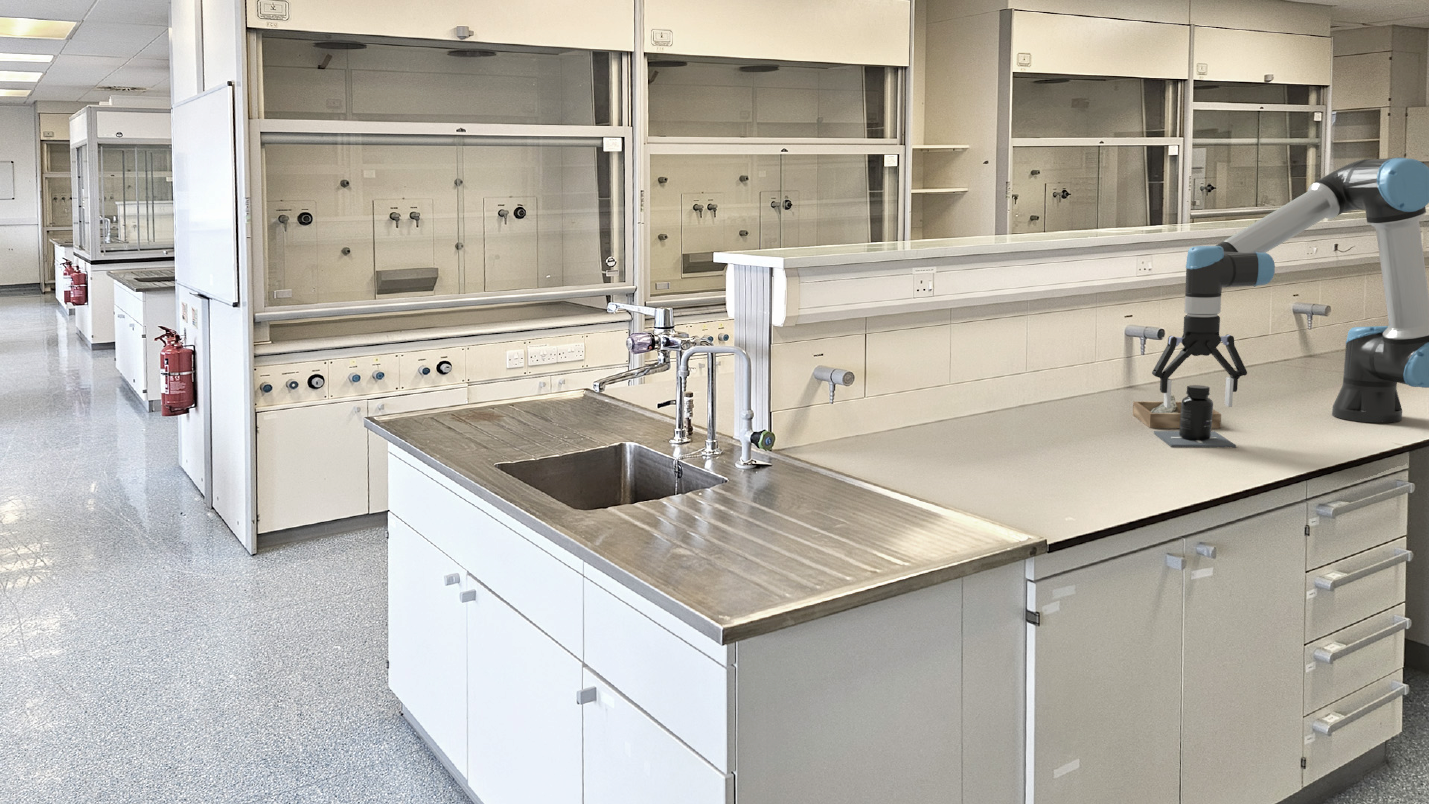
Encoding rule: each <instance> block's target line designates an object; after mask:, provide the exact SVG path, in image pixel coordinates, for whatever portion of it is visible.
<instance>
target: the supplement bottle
mask: <svg viewBox="0 0 1429 804" xmlns="http://www.w3.org/2000/svg"><path fill="white" fill-rule="evenodd" d="M1210 391H1211V390H1210V386H1207V385H1201V384H1200V385H1199V384H1197V385H1196V384H1190V385H1187V386H1186V392H1185V394H1186V396H1185V397H1183V398H1182V400H1181V401H1180V402H1181V413H1180V427H1179V428H1178V429H1179V430H1178V431H1179V435H1180V437H1182V438H1185V439H1191V440H1207V439H1209V438H1210V437H1211V431H1212V429H1213V428H1212V414H1213V410H1214V402H1213V400H1212V398H1209V396H1210V395H1211V392H1210Z"/></svg>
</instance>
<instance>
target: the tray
mask: <svg viewBox="0 0 1429 804" xmlns="http://www.w3.org/2000/svg"><path fill="white" fill-rule="evenodd" d="M1162 403H1164V401H1133V403H1132V416H1133V417H1135V418H1136V419H1137V420H1139V421H1140V423H1142V424H1144V425H1145V426H1147V427H1148V428H1149V429H1179V427H1180V413H1181V401H1176V404H1177V407H1178V412H1179V413H1152V412H1150V411H1151V410H1152V409H1153V408H1156V407H1158V406H1160V405H1161V404H1162ZM1221 421H1222V414H1221V413H1220V412H1219V411H1216V409H1213V414H1212V428H1211V429H1221V427H1222V426H1221V423H1222V422H1221Z"/></svg>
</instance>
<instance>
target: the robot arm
mask: <svg viewBox="0 0 1429 804" xmlns="http://www.w3.org/2000/svg"><path fill="white" fill-rule="evenodd" d="M1428 204H1429V167H1428V166H1427V165H1426V164H1425V163H1424V162H1422V161H1420V160H1418V159H1414V158H1406V157H1388V158H1375V159H1373V158H1372V159H1370V158H1369V159H1360V160H1356V161H1353V162H1350V163H1348V164H1346V165H1344V166H1342V167H1340V168H1337V169H1336V170H1334V171H1332V172H1331V173H1328V174H1326V175H1324V176H1323V177H1322V178H1320V179H1318V180H1317V181H1315V182H1313V183H1311V184H1310V185H1309V187H1308V188H1307V191H1306V192H1304V193H1303V194H1302V195H1299V196H1297V197H1296V198H1295V199H1292V200H1291V201H1289V202H1287V203H1285V204H1284V205H1282V206H1281V207H1279V208H1277V209H1276V210H1274V211H1272V212H1271V213H1269V214H1267V215H1266V216H1264V217H1262V218H1260V219H1258V220H1257V221H1255V222H1253V223H1252V224H1250V225H1248V226H1247V227H1245V228H1244V229H1242V230H1240V231H1238V232H1237V233H1235V234H1233V235H1232V236H1230V237H1227V238H1226V239H1224V240H1222V241H1221V242H1220V243H1218V244H1216V245H1196V246H1192V247H1190V248H1189V249H1188V251H1187V256H1186V264H1185V293H1184V294H1185V297H1184V310H1183V311H1184V313H1185V314H1186V315H1184V316H1183V329H1182V330H1183V334H1182V336H1180V337H1179V336H1173V335H1169V336H1168V339H1167V345H1166V347H1165V348H1164V350H1163V352H1162V354H1161V356H1160V357H1159V359H1158V360H1157V361H1156V362H1157V363H1156V364H1155V366H1154V368H1153V369H1152V371H1151V374H1152V376H1154V377H1156V378H1159V381H1160V382H1159V391H1160V393H1162V394H1163V402H1164V406H1165V407H1166V408H1170V405H1171V395H1172V379H1170V377H1171V376H1172V375H1173V374H1174V373H1175V371H1176V370H1178V368H1180V366H1181V365H1182V364H1183V363H1184V362H1185V360H1187V359H1188V358H1190V356H1191V355H1192V356H1194V357H1198V356H1205V357H1206V356H1209V355H1211V356H1212V357H1214V359H1215V361H1217V362H1218V363H1219V365H1220V366H1221V367H1222V368H1223V369H1224V371H1225V372H1226V373H1227V374H1228V375H1229V376H1226V377H1225V390H1224V391H1225V393H1224V405H1225V406H1226V407H1228V408H1232V407H1233V399H1234V397H1233V395H1234V393H1235V392H1237V391H1238V386H1239V385H1238V382H1239V379H1240V378H1241V377H1243V376H1247V374H1248V371H1247V369H1246V366H1245V364H1244V363H1243V360H1242V358H1241V356H1240V354H1239V352H1238V350H1237V348H1236V346H1235V337H1234V336H1233V335H1231V334H1229V333H1228V334H1225V335H1223V336H1221V335H1220V328H1221V327H1220V326H1221V317H1220V316H1219V314H1220V313H1221V312H1222V310H1221V305H1222V304H1221V303H1222V290H1223V288H1231V287H1232V288H1235V287H1237V288H1239V287H1253V288H1255V287H1257V286H1265V285H1268V284H1269V283H1270V282H1271V281H1272V280H1273V278H1274V276H1275V268H1276V265H1275V261H1274V258H1273V257H1272V256H1271V254H1269V251H1271V250H1273V249H1275V248H1277V247H1279V246H1280V245H1281V244H1284V243H1285V242H1286V241H1288V240H1290V239H1292V238H1293V237H1295V236H1297V235H1299V234H1300V233H1302V232H1304V231H1305V230H1308V229H1309V228H1311V227H1313V226H1314V225H1316V224H1318V223H1319V222H1321V221H1322V220H1325V219H1329V220H1331V219H1335V218H1336V217H1338V216H1339V215H1341V214H1344V213H1348V212H1353V211H1358V210H1362V211H1365V218H1366V224H1368V225H1369V226H1372V227H1373V228H1374V229H1375V232H1376V233H1375V234H1376V239H1377V247H1378V256H1379V261H1380V269H1381V270H1380V271H1381V277H1382V283H1383V284H1382V286H1383V292H1384V298H1385V299H1384V300H1385V306H1386V313H1387V321H1388V325H1378V326H1377V325H1375V326H1354V327H1352V328H1350V329H1349V330H1348V332H1347V338H1346V341H1345V349H1344V350H1345V351H1344V353H1345V354H1344V365H1343V377H1342V384H1341V385H1342V386H1341V387H1340V389H1339V392H1338V394H1337V396H1336V398H1335V401H1334V402H1333V404H1332V411H1331V414H1332V416H1334V417H1335V418H1338V419H1342V420H1346V421H1347V420H1348V421H1352V422H1353V421H1354V422H1361V423H1375V424H1376V423H1378V424H1380V423H1381V424H1382V423H1383V424H1384V423H1385V424H1386V423H1396V422H1400V421H1402V419H1403V408H1402V404H1401V401H1400V396H1399V394H1398V389H1397V387H1398V385H1397V384H1398V383H1399V384H1402V385H1406V386H1407V385H1408V386H1410V387H1411V388H1412V387H1413V388H1424V389H1428V388H1429V289H1428V288H1429V287H1428V279H1427V273H1426V264H1425V257H1424V256H1425V255H1424V248H1423V241H1422V240H1423V239H1422V233H1421V225H1420V220H1421V219H1422V218H1423V217H1424V216H1425V215H1426V213H1427V208H1426V206H1427V205H1428ZM1180 343H1181V344H1182V346H1183V348H1181V350H1180V351H1179V353H1178V354H1177V355H1176V356H1175V358H1173V359H1172V360H1171V362H1170V363H1169V364H1168V362H1169V361H1170V358H1171V357H1172V356H1173V354H1174V352H1175V349H1176V347H1178V346H1179V345H1180ZM1220 343H1222V345H1224V346H1225V347H1226V350H1227V353H1228V354H1229V357H1230V358H1231V360H1232V363H1233V365H1234V367H1235V368H1236V369H1235V368H1234V367H1233V366H1232V365H1231V364H1230V363H1229V362H1228V361H1227V359H1226V358H1225V357H1224V355H1223V354H1222V353H1221V351H1219V349H1218V348H1217V347H1219V345H1220Z"/></svg>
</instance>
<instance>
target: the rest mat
mask: <svg viewBox="0 0 1429 804" xmlns="http://www.w3.org/2000/svg"><path fill="white" fill-rule="evenodd" d="M1153 434H1154V435H1155V436H1156V437H1157V438H1159V439H1160V440H1162V442H1164V443H1165V444H1166V445H1168V446H1169V447H1170V448H1217V447H1223V448H1224V449H1225V447H1229V448H1230V447H1232V449H1234V448H1235V449H1236V448H1237V444H1236V443H1233V442H1232V441H1231V440H1229V439H1227V438H1226V437H1224V436H1223V435H1221V434H1220V433H1218V432H1217V431H1212V430H1211V437H1210V438H1209V439H1207V440H1191V439H1185V438H1182V437H1180V435H1179V430H1176V431H1175V430H1168V431H1167V430H1160V431H1159V430H1154V431H1153ZM1223 448H1222V449H1223ZM1229 448H1228V449H1229Z"/></svg>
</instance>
